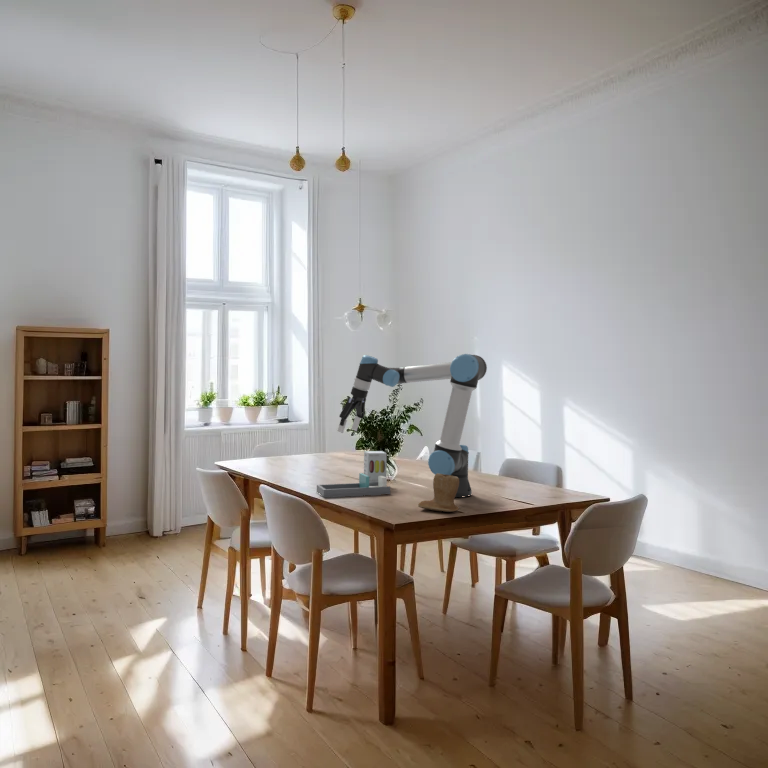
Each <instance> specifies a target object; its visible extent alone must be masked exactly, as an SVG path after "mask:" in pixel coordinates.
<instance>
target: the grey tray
mask: <svg viewBox="0 0 768 768" xmlns="http://www.w3.org/2000/svg"><path fill="white" fill-rule="evenodd" d="M369 486H378V482H371V483H369ZM317 492H318V493H320V494H321V495H322V496H324V497H331V498H345V496H351V497H364V496H365V495H371V496H382V495H381V494H390V495H391V486H390V485H389V486H387V487H366V488H359V482H355V483H354V482H353V483H352V482H350V483H328V484H316V493H317ZM318 493H317V494H318ZM321 495H320V496H321ZM363 495H364V496H363ZM322 496H321V497H322ZM342 496H343V497H342ZM365 497H366V496H365Z"/></svg>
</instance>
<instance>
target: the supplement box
mask: <svg viewBox="0 0 768 768" xmlns="http://www.w3.org/2000/svg"><path fill="white" fill-rule="evenodd" d="M387 456H388V455H387V452H386V451H383V450H375V451H374V450H368V451H367V450H365V451H363V474H365V475H367V476H369V483H371V482H378V476H384V477H386V478H387V461H388V460H387Z"/></svg>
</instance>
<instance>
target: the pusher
mask: <svg viewBox="0 0 768 768" xmlns="http://www.w3.org/2000/svg"><path fill="white" fill-rule="evenodd" d="M358 476H359V477H358V478H359V479H358V480H359V481H358V483H359V488H366V487H387V480H388V479H387V476H386V477H384V476H378V486H369V476H367V475H365V474H364V472H360V473H359V474H358Z"/></svg>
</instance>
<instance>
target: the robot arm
mask: <svg viewBox="0 0 768 768" xmlns="http://www.w3.org/2000/svg"><path fill="white" fill-rule="evenodd" d="M378 362H379V360H378V358H376V357H374V356H371V355H369V354H368V355H367V354H364V355H363V356H362V358H361V359H360V361H359V366H358V368H357V369H358V370H357V373H356V375H355V378H354V381H353V386H352V388H351V391H350V394H351V395H352V398H351V397H348V398H347V401H346V403H345V405H344V406H343V408H342V411H341V412H340V414H339V418H340V421H339V425H338V427H337V429H336V430H337V433H338V432H339V433H340V434H343V433H344V430H345V428H346V425H347V422H348V418H349V416H350V415H351V413H352V412H353V410H355V412H356V413H355V414H356V415H355V416H354V419H353V422H352V425H351V427H350V428H351V430H352V431H355V432H357V431H358V427H359V425H360V421H361V419H364V417H365V409H366V401H367V396H368V393H369V390H370V388H371V384H372V381H375V382H378V383H381V384H383V385H385V386H389V387H391V388H394V387H395V386H396V385H401V384H408V383H419V382H420V383H422V382H430V381H431V382H432V381H442V380H450V381H449V383H450V385H451V386H452V387H451V392H450V396H449V400H448V405H447V409H446V413H445V418H444V422H443V426H442V430H441V434H440V438H439V440H438V441H436V442H435V444H434V449H433V452H431V454H430V455H429V456H428V461H427V465H428V469H430V471H431V473H433V474H434V476H435V475H436V474H437V473H439V474H445V475H451V476H456V477H458V478H459V486H458V490H457V493H456V495H455V497H462V496H468V495H471V494H472V491H473V490H472V487H471V485H470V481H469V447H468V446H467V445H464V444H460V443H461V439H462V435H463V430H464V426H465V423H466V420H467V419H466V417H467V414H468V409H469V406H470V405H469V404H470V403H471V402H470V401H471V398H472V397H471V396H472V393H473V391H475V390H477V387H478V383H479V381H480V380H481V379H483V378H484V377H485V375H486V374H487V370H488V367H487V366H488V365H487V362H486V361H485V359H484V358H483V357H482V356H480V355H477V354H470V353H469V354H468V353H463V354H459V355H457V356H456V357H454V359H452V361H451V362H442V363H441V362H440V363H431V364H421V365H411V366H402V367H400V366H399V367H386V366H384V365H381V364H379V363H378ZM472 495H473V494H472Z"/></svg>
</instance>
